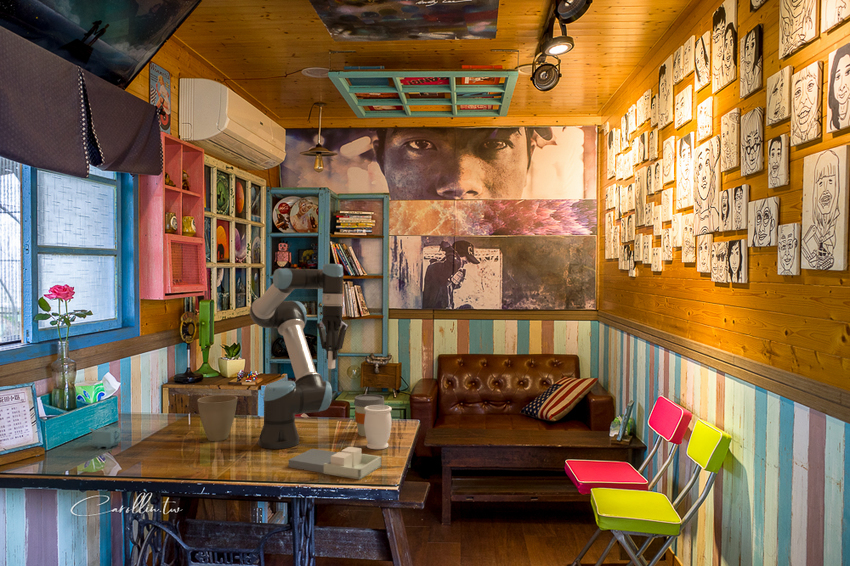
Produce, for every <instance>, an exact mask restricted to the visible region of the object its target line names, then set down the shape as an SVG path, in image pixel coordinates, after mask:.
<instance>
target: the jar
mask: <svg viewBox="0 0 850 566" xmlns="http://www.w3.org/2000/svg"><path fill="white" fill-rule="evenodd" d="M365 411H366V414H365V420H364V427H365V435H366V436H365V438H366V439H365V440H366V441H367V444H366V447H367V449H371V450H384V449H387V448H388V447H389V443H388V441H389V439H390V436H391V431H392V424H393V423H392V415H391V412H392V406H389V405H385V404H384V405H370V406H366V407H365Z"/></svg>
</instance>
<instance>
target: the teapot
mask: <svg viewBox="0 0 850 566" xmlns="http://www.w3.org/2000/svg"><path fill="white" fill-rule="evenodd" d="M89 430H90V431H91V433H92V439H91V447H96V449H97V450H98V449H102V448H103V447H104V448H105V449H106V450H108V449H111V448H112V447H115V446H117V445H118V444H120V443H121V442H122V432H121V430H122V428H121V427H110V426H109V425H107V426H103V427H100V428H98V429H94V428H89Z"/></svg>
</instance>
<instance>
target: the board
mask: <svg viewBox="0 0 850 566" xmlns="http://www.w3.org/2000/svg"><path fill="white" fill-rule="evenodd" d="M338 452H339V451H338ZM338 452H337V451H331V450H324V449H316V448H311V449H308V450H307V451H304V452H302V453H300V454H298V455H296V456H294V457H291V458H289V459H288V468H292V469H298V470H303V469H304V471H310V472H315V473H320V474H321V473H322V474H324V463H328V464H331V456H332V455H334V454H336V453H338Z"/></svg>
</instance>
